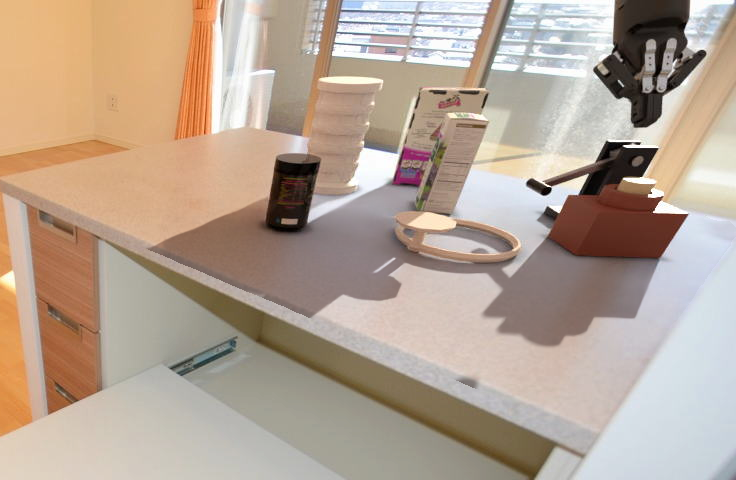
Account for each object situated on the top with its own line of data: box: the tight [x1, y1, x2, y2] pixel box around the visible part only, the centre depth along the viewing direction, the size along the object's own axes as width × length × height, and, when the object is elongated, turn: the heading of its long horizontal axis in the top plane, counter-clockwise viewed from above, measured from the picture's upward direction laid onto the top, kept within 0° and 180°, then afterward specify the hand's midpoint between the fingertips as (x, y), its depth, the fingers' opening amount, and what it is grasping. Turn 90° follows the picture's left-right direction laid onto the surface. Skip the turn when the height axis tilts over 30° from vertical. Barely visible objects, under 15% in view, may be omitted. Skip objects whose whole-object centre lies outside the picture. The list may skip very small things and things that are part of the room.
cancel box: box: [547, 184, 690, 259], centre depth 77 cm, size 11×8×8 cm
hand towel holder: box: [394, 210, 522, 263], centre depth 80 cm, size 17×4×21 cm
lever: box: [525, 143, 639, 197], centre depth 84 cm, size 13×5×2 cm, turn 81°
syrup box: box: [414, 113, 490, 215], centre depth 91 cm, size 6×6×14 cm
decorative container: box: [306, 75, 384, 196], centre depth 102 cm, size 12×12×18 cm
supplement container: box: [264, 152, 321, 233], centre depth 86 cm, size 7×7×10 cm
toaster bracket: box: [543, 139, 660, 221], centre depth 84 cm, size 9×10×12 cm
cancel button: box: [617, 177, 657, 195], centre depth 75 cm, size 4×4×2 cm
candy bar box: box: [392, 86, 490, 188], centre depth 102 cm, size 11×5×16 cm, turn 67°
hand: (645, 124), depth 76 cm, fingers closed
